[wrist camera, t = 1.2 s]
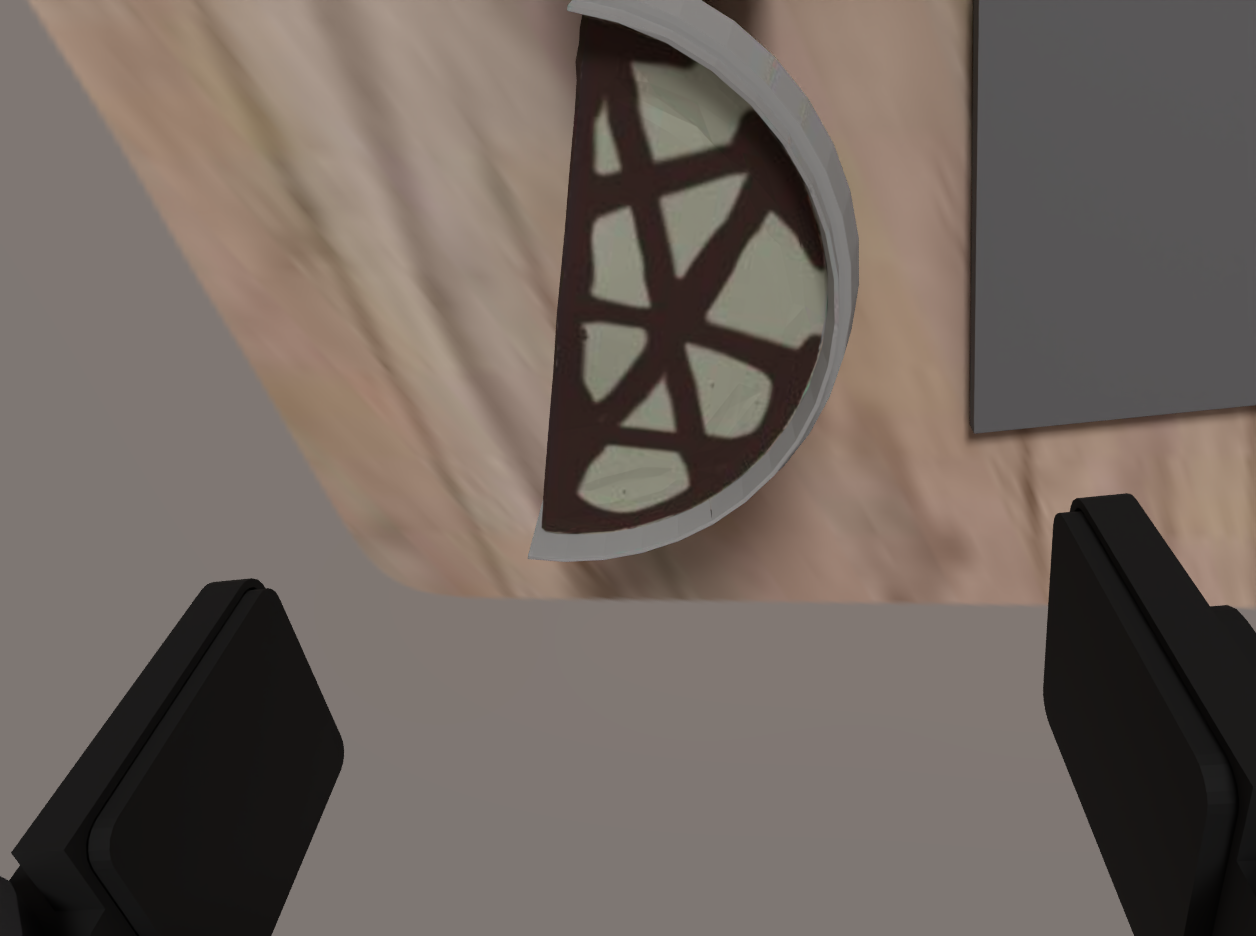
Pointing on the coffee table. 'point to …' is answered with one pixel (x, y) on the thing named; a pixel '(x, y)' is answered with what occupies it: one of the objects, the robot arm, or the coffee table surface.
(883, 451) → the coffee table surface
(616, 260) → the food container
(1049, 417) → the mat
